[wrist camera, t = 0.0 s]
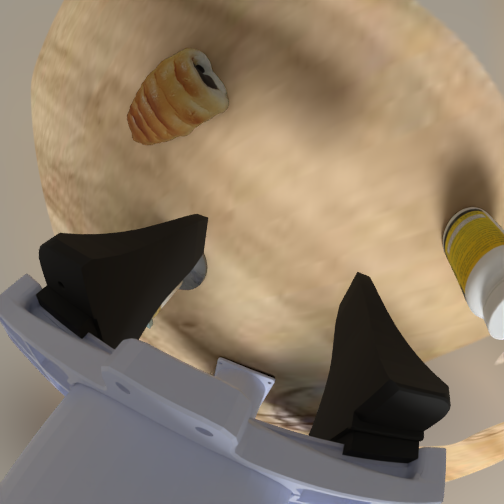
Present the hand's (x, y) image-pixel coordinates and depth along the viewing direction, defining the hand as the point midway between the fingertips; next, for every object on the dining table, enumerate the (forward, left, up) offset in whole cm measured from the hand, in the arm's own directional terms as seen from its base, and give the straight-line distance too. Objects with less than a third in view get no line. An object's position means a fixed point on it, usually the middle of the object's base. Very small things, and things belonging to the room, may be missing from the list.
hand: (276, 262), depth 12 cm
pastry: (+5, +12, -11) cm, 17 cm away
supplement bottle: (+2, -14, -10) cm, 17 cm away
